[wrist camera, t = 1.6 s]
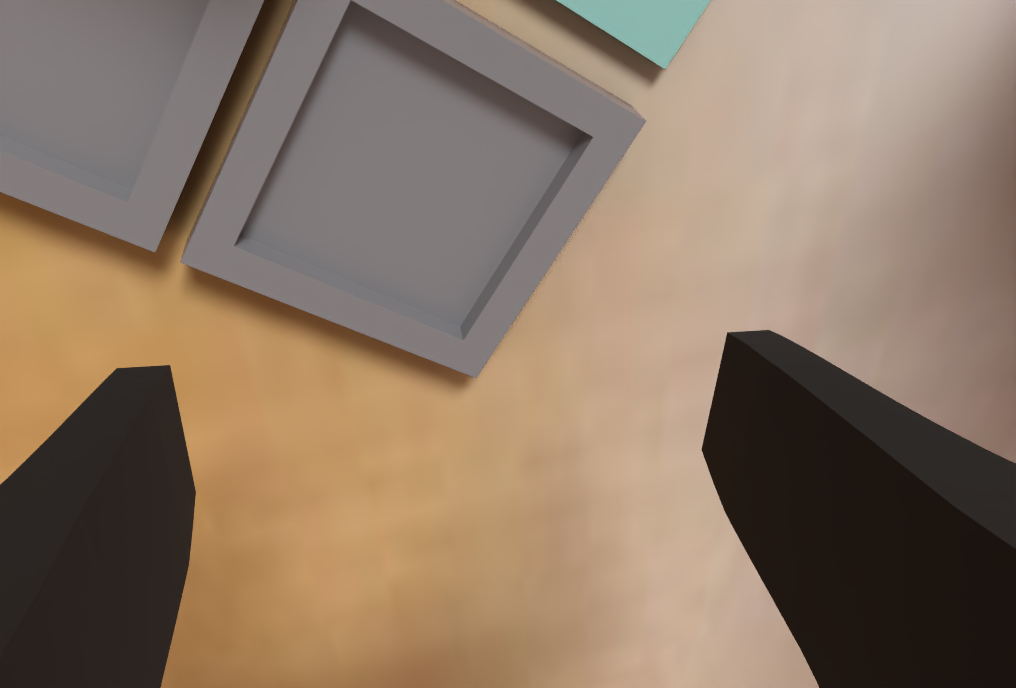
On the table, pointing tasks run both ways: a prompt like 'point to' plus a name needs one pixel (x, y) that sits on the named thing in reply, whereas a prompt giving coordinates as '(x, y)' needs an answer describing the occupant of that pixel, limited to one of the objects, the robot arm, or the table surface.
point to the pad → (643, 23)
